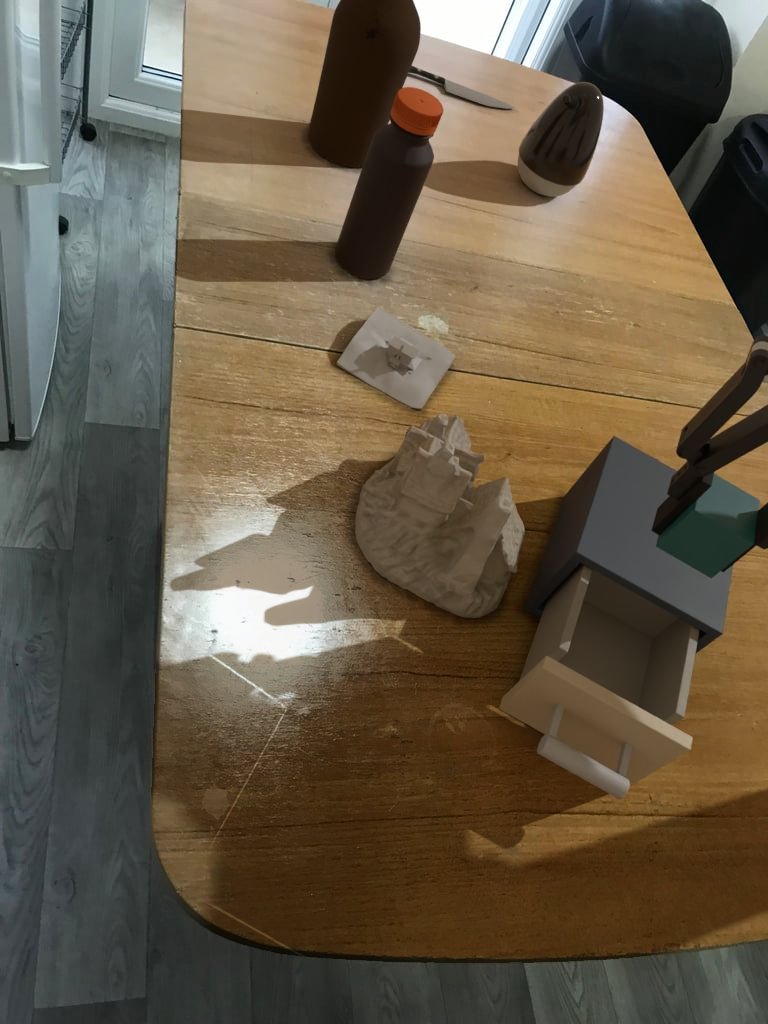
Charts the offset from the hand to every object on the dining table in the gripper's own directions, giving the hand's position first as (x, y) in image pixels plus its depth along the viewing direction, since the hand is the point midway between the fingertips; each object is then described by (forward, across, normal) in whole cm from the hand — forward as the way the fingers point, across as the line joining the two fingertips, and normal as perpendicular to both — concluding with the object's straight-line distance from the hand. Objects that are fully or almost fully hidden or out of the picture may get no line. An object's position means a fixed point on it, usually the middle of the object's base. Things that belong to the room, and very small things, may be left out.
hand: (690, 539), depth 66 cm
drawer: (+14, 0, -8) cm, 16 cm away
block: (0, 0, 0) cm, 0 cm away
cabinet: (+15, 0, +6) cm, 16 cm away
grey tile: (+15, -29, +18) cm, 38 cm away
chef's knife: (+15, -45, +81) cm, 94 cm away
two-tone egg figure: (+15, -27, +68) cm, 75 cm away
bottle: (+16, -39, +31) cm, 53 cm away
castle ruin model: (+15, -17, +1) cm, 23 cm away
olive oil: (+16, -52, +51) cm, 74 cm away
